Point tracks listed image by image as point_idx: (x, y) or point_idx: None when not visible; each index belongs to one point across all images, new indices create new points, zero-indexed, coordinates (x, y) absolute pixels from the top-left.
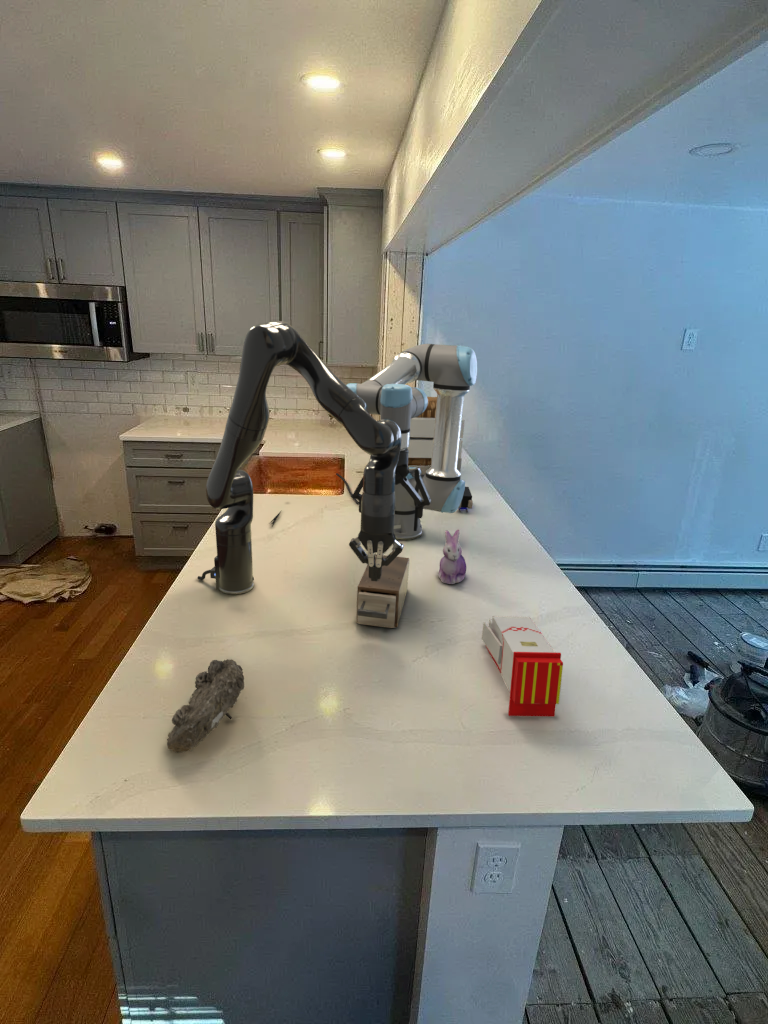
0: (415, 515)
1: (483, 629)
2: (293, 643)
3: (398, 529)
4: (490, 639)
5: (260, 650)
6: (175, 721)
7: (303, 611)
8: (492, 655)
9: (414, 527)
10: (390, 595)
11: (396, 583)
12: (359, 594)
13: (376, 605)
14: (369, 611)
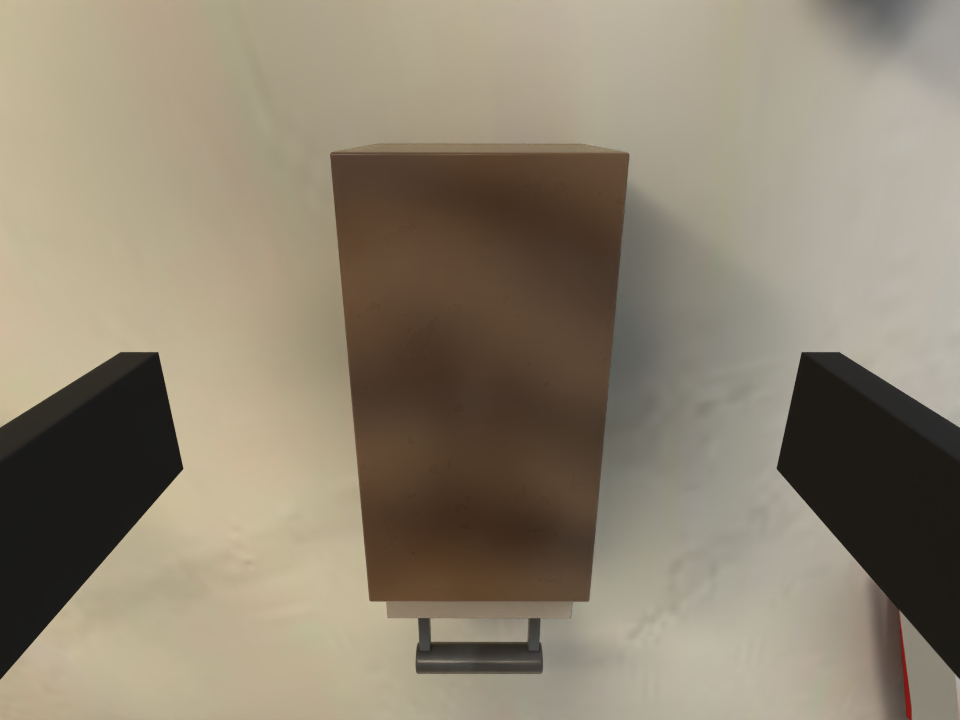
0: (925, 621)
1: None
2: (232, 629)
3: None
4: (939, 709)
5: (155, 674)
6: None
7: None
8: (912, 703)
9: (807, 494)
10: (544, 602)
11: (567, 535)
12: (394, 616)
13: None
14: (466, 672)
